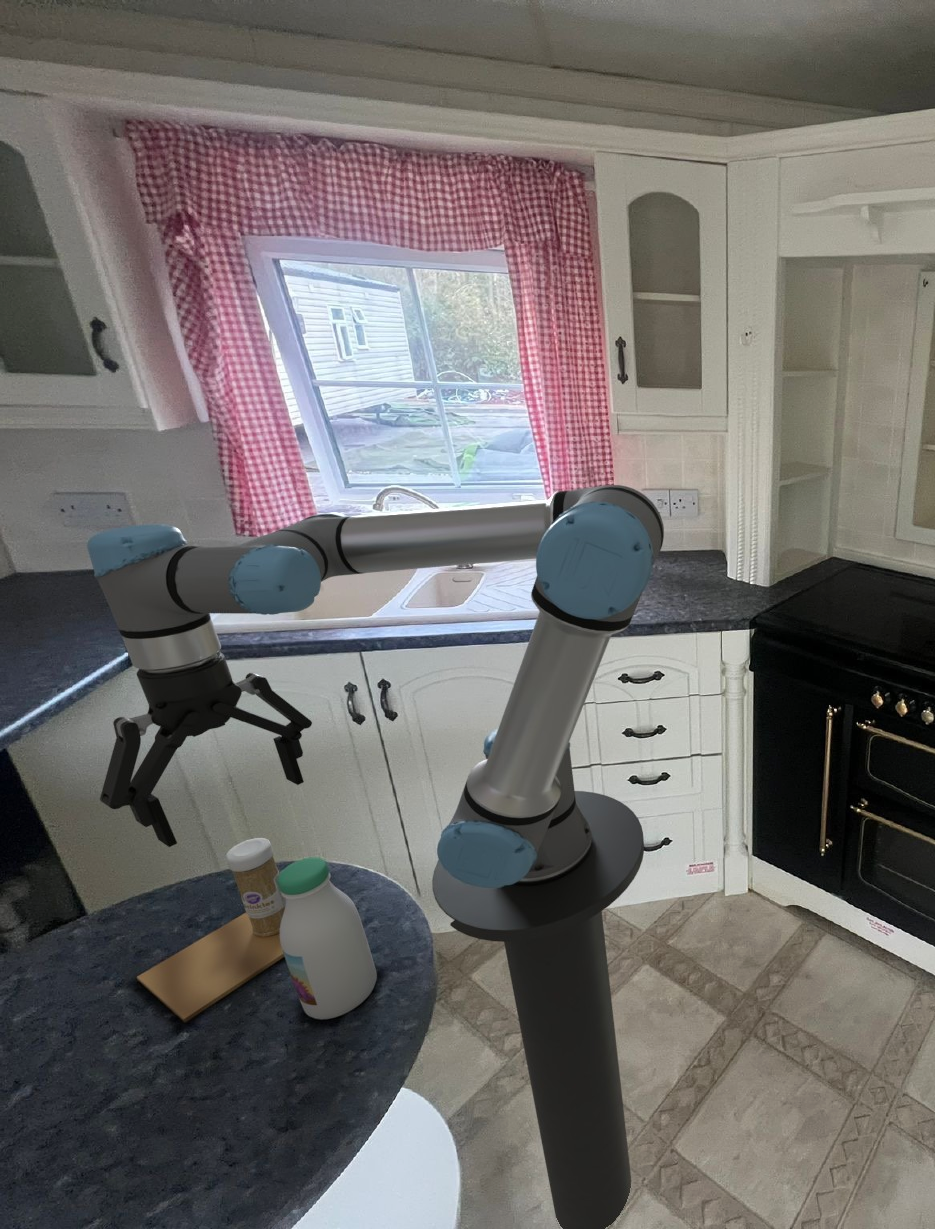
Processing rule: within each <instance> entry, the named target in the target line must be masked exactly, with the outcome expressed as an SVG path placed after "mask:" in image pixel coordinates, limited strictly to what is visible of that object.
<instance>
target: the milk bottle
mask: <svg viewBox="0 0 935 1229" xmlns="http://www.w3.org/2000/svg"><path fill="white" fill-rule="evenodd" d="M330 880H331V873H330V870H329V866H328V863H327V861H326V860H325V859H324V858H322V857H318V856H311V857H305V858H301V859H299V860H296V861H294V862H292V863H291V864H288V865H287V866H286V867H285V868H284V869H282V870H281V871H280V872H279V876H278V880H277V882H278V886H279V888H280V891H281V894H282V896H283V897H284V898H286V906H285V910H284V914H283V917H282V920H281V924H280V943H281V947H282V950H283V954H284V957H283V958H284V959H285V960H284V961H285V963H286V965H287V969H288V971H289V975H290V978H291V979H292V982H293V985H294V988H295V991H296V993H297V996H298V999H299V1002H300V1004H301V1006H302V1009H303V1011H304V1013H305V1014H306V1015H307V1016H308V1017H310V1018H313V1019H315V1020H329V1019H334V1018H338V1017H340V1016H343V1015H345V1014H347V1013H349V1012H351V1011H352V1010H355V1008H357V1007H358V1006H360V1005H361V1004H362V1003H364V1001H365V1000H367V998H368V997H369V996H370V995H371V993H372V991H373V990H374V988H375V985H376V982H377V979H378V972H377V969H376V966H375V962H374V958H373V956H372V955H373V954H372V952H371V948H370V945H369V942H368V938H367V935H366V931H365V928H364V926H363V922H362V919H361V917H360V914H359V911H358V908H357V907H356V905H355V903H354V902H353V900H352V899H351V897H350V896H348V895H347V894H346V893H345V892H343V891H342V890H340V889H339V888H337V887H336V886H335V885H334V884H333V883H332V882H331V881H330Z"/></svg>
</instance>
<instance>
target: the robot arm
mask: <svg viewBox="0 0 935 1229" xmlns="http://www.w3.org/2000/svg"><path fill="white" fill-rule="evenodd" d="M664 539H665V526H664V522H663V519H662V515H661V514H660V512H659V510H658V508H657V506H656V505H655V504H654V503H653V501H652V500H651V499H650V498H648V497H647V495H645V494H643V493H642V492H641V491H639V490H637V489H635V488H633V487H630V486H626V485H621V484H605V485H599V486H592V487H586V488H585V487H584V488H579V489H571V490H570V489H568V490H559V491H557V490H556V491H555V492H554V493H553V494H552V495H551V496H550V498H548V499H543V500H533V501H531V500H530V501H520V502H507V503H496V504H494V503H493V504H482V505H471V506H459V507H446V508H445V507H444V508H435V509H433V508H432V509H422V510H421V509H420V510H410V511H397V512H385V513H374V514H373V513H371V514H363V515H362V514H361V515H351V516H349V515H347V514H345V513H341V512H334V511H333V512H325V513H324V512H323V513H320V514H315V515H314V514H313V515H309V516H307V517H305V518H304V519H301V520H299V521H298V522H295V523H293V524H290V525H287V526H285V527H282V528H280V529H278V530H274V531H272V532H270V533H269V532H268V533H267V534H263V535H261V536H259V537H257V538H254V539H251V540H249V541H246V542H243V543H241V544H237V545H230V546H229V545H228V546H226V545H225V546H223V545H222V546H197V545H188V540H186V539H185V537H184V535H183V533H182V531H181V530H180V528H178V527H176V526H174V525H168V524H158V523H157V524H156V523H153V524H137V525H130V526H129V525H128V526H122V527H117V528H112V529H108V530H105V531H101V532H98V533H96V534H94V535H92V536H91V537H90V538H89V539H88V540H87V544H86V548H87V552H88V555H89V558H90V562H91V565H92V568H93V572H94V574H93V575H94V577H95V579H96V580H97V582H98V584H99V586H100V589H101V591H102V593H103V595H104V597H105V599H106V602H107V604H108V606H109V609H110V611H111V614H112V616H113V619H114V621H115V623H116V626H117V628H118V631H119V634H120V636H121V638H122V640H123V643H124V646H125V648H126V651H127V653H128V656H129V659H130V661H131V664H132V666H133V667H134V668H135V669H138V670H137V671H136V677H137V679H138V682H139V684H140V687H141V689H142V691H143V694H144V696H145V699H146V702H147V703H148V710H147V713H144V714H141V715H137V716H134V717H129V718H127V717H126V716H119V717H116V718H115V719H114V720H113V728H114V732H115V733H114V734H115V737H116V738H115V742H114V746H113V749H112V753H111V757H110V760H109V764H108V767H107V772H106V774H105V779H104V783H103V786H102V790H101V794H100V797H99V801H100V802H101V803H102V804H104V805H106V806H107V807H108V808H109V809H111V810H118V809H121V808H123V807H126V806H129V807H130V810H131V812H132V815H133V817H134V818H135V821H136V822H137V823H138V824H139V825H141V826H143V827H144V828H148V827H150V826H151V827H152V828H153V831H154V833H155V836H156V838H157V839H158V841H160V842H161V843H162V844H164V845H165V846H166V847H168V848H172V847H173V846H175V845H177V844H178V841H177V839H176V836H175V834H174V832H173V830H172V828H171V824H170V822H169V820H168V817H167V816H166V813H165V811H164V808H163V806H162V804H161V801H160V799H159V797H157V796H155V795H153V794H152V793H153V791H154V789H155V787H156V786H157V784H158V783H159V781H160V780H161V777H162V776H163V774H164V772H165V770H166V769H167V767H168V765H169V763H170V762H171V760H172V759H173V757H174V755H175V753H176V751H177V750H178V749H179V748H181V747H182V745H183V744H184V742H185V741H186V739H187V738H188V737H193V738H195V737H197V736H200V735H203V734H204V733H206V732H208V731H209V730H214V729H218V728H222V727H224V726H226V723H227V722H229V721H230V720H231V719H234V720H237V721H240V722H242V723H246V724H248V725H252V726H254V727H257V728H260V729H262V730H265V731H268V732H270V733H273V734H275V735H278V736H276V737H273V738H272V739H273V743H274V745H275V749H276V751H277V754H278V757H279V761H280V764H281V767H282V770H283V772H284V776H285V779H286V780H287V781H289V782H291V783H293V784H294V785H297V786H300V785H301V784H303V783H304V782H305V780H304V777H303V776H302V771H301V768H300V765H299V762H298V759H300V758H302V757H303V754H304V751H303V748H302V745H301V742H300V741H301V740H300V739H301V738H302V737H303V734H302V731H304V730H305V729H309V728H311V726H312V725H313V721H312V720H311V719H310V718H308V717H307V716H306V715H304V713H302V712H300V710H298V709H297V708H295V707H294V706H293V705H292V704H290V703H289V702H288V701H287V700H285V699H284V698H283V697H281V695H279V694H278V693H276V692H275V691H274V690H273V689H272V687H271V685H270V683H269V681H268V679H267V677H264V676H262V675H259V673H258V674H257V673H255V672H249V673H247V674H246V676H245V678H244V679H242V680H240V681H238V682H234V681H233V677H232V673H231V672H230V669H229V665H228V662H227V659H226V657H225V655H224V653H223V652H221V651H220V650H221V649H222V644H221V641H220V638H219V635H218V633H217V630H216V628H215V625H214V623H213V620H212V617H211V614H230V615H231V614H234V615H235V614H236V615H237V614H243V615H244V614H245V615H246V614H249V615H250V614H251V615H252V614H256V615H262V616H263V615H264V616H267V615H270V616H273V615H280V614H286V613H287V614H288V613H297V612H301V611H304V610H307V609H308V608H310V607H311V606H312V605H313V604H314V602H315V598H316V597H317V596H319V594H320V591H321V586H322V582H324V581H326V580H328V579H329V578H332V577H333V578H334V577H340V576H341V577H342V576H351V575H352V576H353V575H362V574H370V573H383V572H393V571H405V570H406V571H407V570H408V571H409V570H418V569H430V568H440V567H441V568H442V567H454V566H466V565H475V564H491V563H502V562H514V561H524V560H526V561H527V560H535V570H536V577H535V581H534V584H533V586H532V589H531V593H530V597H531V601H532V602H533V604H534V606H535V607H536V608H537V610H538V611H539V612H538V615H537V617H536V620H535V623H534V626H533V629H532V631H531V634H530V637H529V641H528V643H527V646H526V649H525V652H524V654H523V657H522V660H521V663H520V665H519V668H518V671H517V674H516V677H515V680H514V683H513V686H512V689H511V692H510V694H509V696H508V700H507V703H506V707H505V708H504V712H503V714H502V717H501V720H500V723H499V726H498V727H497V728H496V729H494V730H493V731H491V732H490V733H489V734H488V735H486V737H485V738H484V741H483V750H482V753H483V755H484V756H485V759H484V760H482V761H479V762H478V763H476V764H475V765H474V767H472V768H471V770H470V772H469V773H468V775H467V779H466V782H465V784H464V787H463V790H462V793H461V796H460V799H459V802H458V805H457V806H456V810H455V812H454V814H453V816H452V818H451V820H450V821H449V823H448V824H447V826H446V827H445V828H444V829H443V830H442V832H441V834H440V838H439V840H438V843H437V848H436V854H437V858H438V859H437V860H439V861H440V863H441V865H442V866H443V868H444V869H446V870H447V871H449V873H450V875H452V876H453V877H454V878H456V879H458V880H459V881H461V882H463V883H466V884H469V885H472V886H476V887H481V888H500V887H503V886H504V885H518V886H535V885H541V884H545V883H549V882H552V881H555V880H557V879H560V878H562V877H564V876H566V875H568V874H569V873H571V872H572V871H574V870H575V869H576V868H578V867H579V866H580V865H581V864H582V863H583V862H584V861H585V859H586V858H587V857H588V855H589V853H590V851H591V848H592V834H591V829H590V827H589V824H588V823H587V821H586V819H585V817H584V816H583V814H582V812H581V811H580V809H579V807H578V806H577V804H576V799H575V791H576V790H575V784H574V775H573V773H574V772H573V765H572V758H571V756H572V755H571V749H570V748H571V742H570V741H571V739H572V735H573V733H574V731H575V728H576V725H577V723H578V721H579V718H580V717H581V716H580V715H581V713H582V710H583V707H584V705H585V702H586V700H587V698H588V695H589V693H590V691H591V688H592V685H593V682H594V680H595V677H596V675H597V672H598V670H599V667H600V665H601V663H602V660H603V657H604V654H605V652H606V650H607V647H608V644H609V642H610V640H611V637H612V635H614V634H617V633H620V632H623V631H625V630H626V629H628V628H629V626H630V624H631V621H632V620H633V617H634V615H635V612H636V609H637V608H638V605H639V602H640V599H641V597H642V595H643V593H644V591H645V589H646V587H647V586H648V583H649V581H650V578H651V576H652V572H653V571H652V570H653V567H654V565H655V563H656V561H657V559H658V556H659V555H660V552H661V550H662V548H663V544H664ZM243 692H246V693H247V694H249V695H252V696H254V695H256V696H257V697H258V698H259V699H261V700H262V701H263V702H264V703H266V704H267V705H268V706H270V707H271V708H272V709H274V710H275V711H276V712H278V714H280V715H281V716H283V717H284V718H285V719H287V720H288V721H290V722H288V723H287V724H286V725H285V724H283V723H280V722H277V721H274V720H273V719H270V718H268V717H264V716H262V715H259V714H258V713H257V714H256V713H254V712H251V711H248V710H246V709H243V708H241V707H238V706H237V705H238V703H239V702H240V699H241V697H242V695H243V694H242V693H243ZM153 724H154V725H156V726H158V727H159V728H158V730H157V732H156V734H155V736H154V741H153V743H152V745H151V747H150V748H149V750H148V751H147V753H146V755H145V757H144V758H143V760H142V762H141V763H140V765H139V767H138V769H137V771H136V772H135V774H134V771H135V766H136V762H137V759H138V755H139V752H140V748H141V745H142V744H141V743H142V739H141V738H142V736H145V735H146V733H147V729H148V727H150V726H151V725H153ZM133 774H134V775H133Z"/></svg>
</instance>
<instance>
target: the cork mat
mask: <svg viewBox="0 0 935 1229" xmlns="http://www.w3.org/2000/svg"><path fill="white" fill-rule="evenodd" d="M283 958H285V957H284V954H283V950H282V947H281V943H280V932H278V933H277V934H274V935H271V936H266V937H260V936H256V935H255V934H254V933H253V927H252V924H251V922H250V919H249V916H248V915H247V913H246V912H245V913H242V914H241V915H240V916H238V917H236V918H234V919H233V920H231V921H229V922H227V923H225V924H224V925H222V926H220V927H219V928H217V929H216V930H214V931H212V932H211V933H209V934H207V935H205V936H204V937H202V938H200V939H198V940H197V941H195V942H193V943H191V944H190V945H189V946H187V947H185V948H184V949H182V950H179V951H177V953H175V954H173V955H172V956H170V957H168V958H166V959H165V960H163V961H161V962H159V963H157V964H156V965H154V966H152V967H150V968H149V969H148V970H146V971H144V972H142V973H140V974H139V975H137V976H136V979H137V981H138V982H139V983H140V984H142V985H143V986H144V987H145V988H146V989H147V990H148V991H149V992H150V993H151V994H153V996H154V997H156V998H157V999H158V1000H159V1001H160V1002H161V1003H163V1005H165V1007H166V1008H168V1009H169V1010H170V1011H171V1012H172V1013H174V1014H175V1015H176V1016H177V1017H178V1018H179V1019H180V1020H181V1021H182V1022H183V1023H187V1022H188V1021H190V1020H192V1019H193V1018H195V1017H196V1016H198V1015H199V1014H201V1013H202V1012H204V1011H205V1010H207V1009H208V1008H209V1007H211V1006H212V1005H214V1004H215V1003H217V1002H218V1001H220V1000H221V999H223V998H224V997H226V996H227V995H229V994H230V993H232V992H234V991H235V990H237V989H238V988H240V987H241V986H242V985H244V984H246V983H247V982H248V981H250V980H252V979H253V978H254V977H257V976H258V975H259V974H261V973H262V972H264V971H265V970H266V969H268V968H270V967H271V966H273V965H274V964H275V963H277V962H279V961H280V960H281V959H283Z"/></svg>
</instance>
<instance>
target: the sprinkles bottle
mask: <svg viewBox="0 0 935 1229" xmlns="http://www.w3.org/2000/svg"><path fill="white" fill-rule="evenodd" d="M225 860H226V863H227V866H228V869H229V870H230V871H231V872H232V874H233V877H234V880H235V883H236V886H237V888H238V892H239V894H240V896H241V897H240V898H241V901H242V905H243V908H244V910H245V913H247V915H248V916H249V919H250V922H251V924H252V927H253V933H254V934H255V935H256V936H260V937H266V936H271V935H274V934H277V933H278V932H280V924H281V920H282V917H283V914H284V910H285V906H286V898H284V897H283V896H282V894H281V891H280V888H279V886H278V882H277V880H278V876H279V874H280V870H279V869H278V866H277V864H276V860H275V857H274V849H273V846H272V844H271V841H270V840H269V839H267V838H264V837H254V838H249V839H247V840H244V841H241V842H239V843H238V844H235V845H234V846H233V847H231V849H229V850H228V851H227V853H226V855H225Z"/></svg>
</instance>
